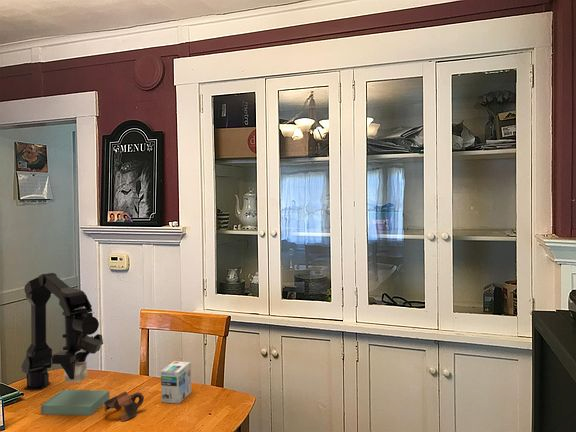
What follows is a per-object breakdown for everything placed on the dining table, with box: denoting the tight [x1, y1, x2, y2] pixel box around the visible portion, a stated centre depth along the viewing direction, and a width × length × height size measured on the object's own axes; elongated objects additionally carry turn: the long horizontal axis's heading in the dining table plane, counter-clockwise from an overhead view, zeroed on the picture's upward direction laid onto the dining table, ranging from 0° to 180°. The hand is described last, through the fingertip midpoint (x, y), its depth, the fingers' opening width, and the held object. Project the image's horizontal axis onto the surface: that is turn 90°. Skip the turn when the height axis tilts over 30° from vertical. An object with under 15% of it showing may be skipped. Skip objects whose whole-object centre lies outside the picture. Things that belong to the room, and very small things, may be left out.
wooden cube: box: [64, 361, 88, 383], centre depth 163 cm, size 5×5×5 cm
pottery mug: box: [103, 391, 145, 422], centre depth 156 cm, size 12×10×8 cm
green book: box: [40, 388, 110, 416], centre depth 163 cm, size 16×13×3 cm
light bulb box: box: [160, 360, 192, 404], centre depth 169 cm, size 11×7×11 cm, turn 168°
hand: (76, 376), depth 163 cm, fingers closed on wooden cube, 5 cm apart
